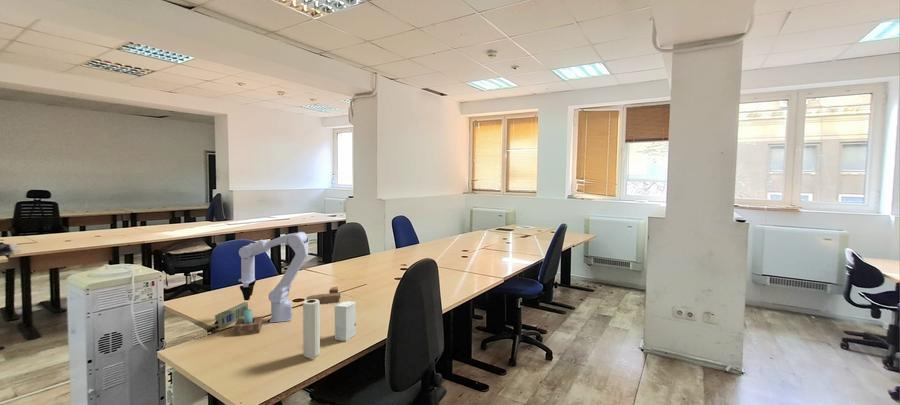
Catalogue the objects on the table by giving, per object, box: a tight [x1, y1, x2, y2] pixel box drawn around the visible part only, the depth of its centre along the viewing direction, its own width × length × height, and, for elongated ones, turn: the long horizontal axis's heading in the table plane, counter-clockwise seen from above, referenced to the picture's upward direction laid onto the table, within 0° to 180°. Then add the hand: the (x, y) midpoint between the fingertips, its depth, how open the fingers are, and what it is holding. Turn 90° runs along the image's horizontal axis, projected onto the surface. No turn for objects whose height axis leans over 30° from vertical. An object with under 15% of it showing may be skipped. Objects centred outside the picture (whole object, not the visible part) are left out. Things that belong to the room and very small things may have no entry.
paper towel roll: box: [302, 299, 321, 360], centre depth 151 cm, size 7×6×21 cm
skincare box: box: [334, 300, 357, 342], centre depth 169 cm, size 8×6×15 cm
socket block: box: [233, 316, 263, 337], centre depth 175 cm, size 10×10×4 cm
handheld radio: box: [206, 301, 249, 334], centre depth 183 cm, size 7×3×25 cm
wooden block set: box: [306, 286, 341, 305], centre depth 221 cm, size 17×6×18 cm
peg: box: [243, 308, 253, 324], centre depth 175 cm, size 3×3×9 cm
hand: (248, 297), depth 189 cm, fingers open, 7 cm apart
